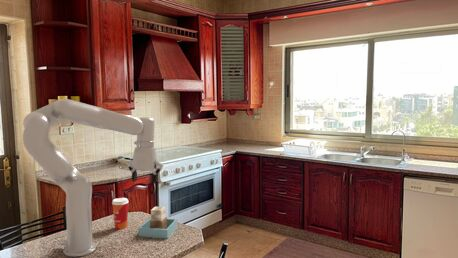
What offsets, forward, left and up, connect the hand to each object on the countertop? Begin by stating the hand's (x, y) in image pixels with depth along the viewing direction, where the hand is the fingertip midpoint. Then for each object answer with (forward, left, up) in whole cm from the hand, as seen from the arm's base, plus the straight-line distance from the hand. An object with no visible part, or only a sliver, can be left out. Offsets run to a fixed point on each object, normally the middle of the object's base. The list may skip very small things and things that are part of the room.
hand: (144, 181), depth 156 cm
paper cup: (-14, +4, -25) cm, 29 cm away
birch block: (+6, +2, -18) cm, 19 cm away
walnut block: (+6, +2, -24) cm, 25 cm away
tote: (+6, +2, -24) cm, 25 cm away
